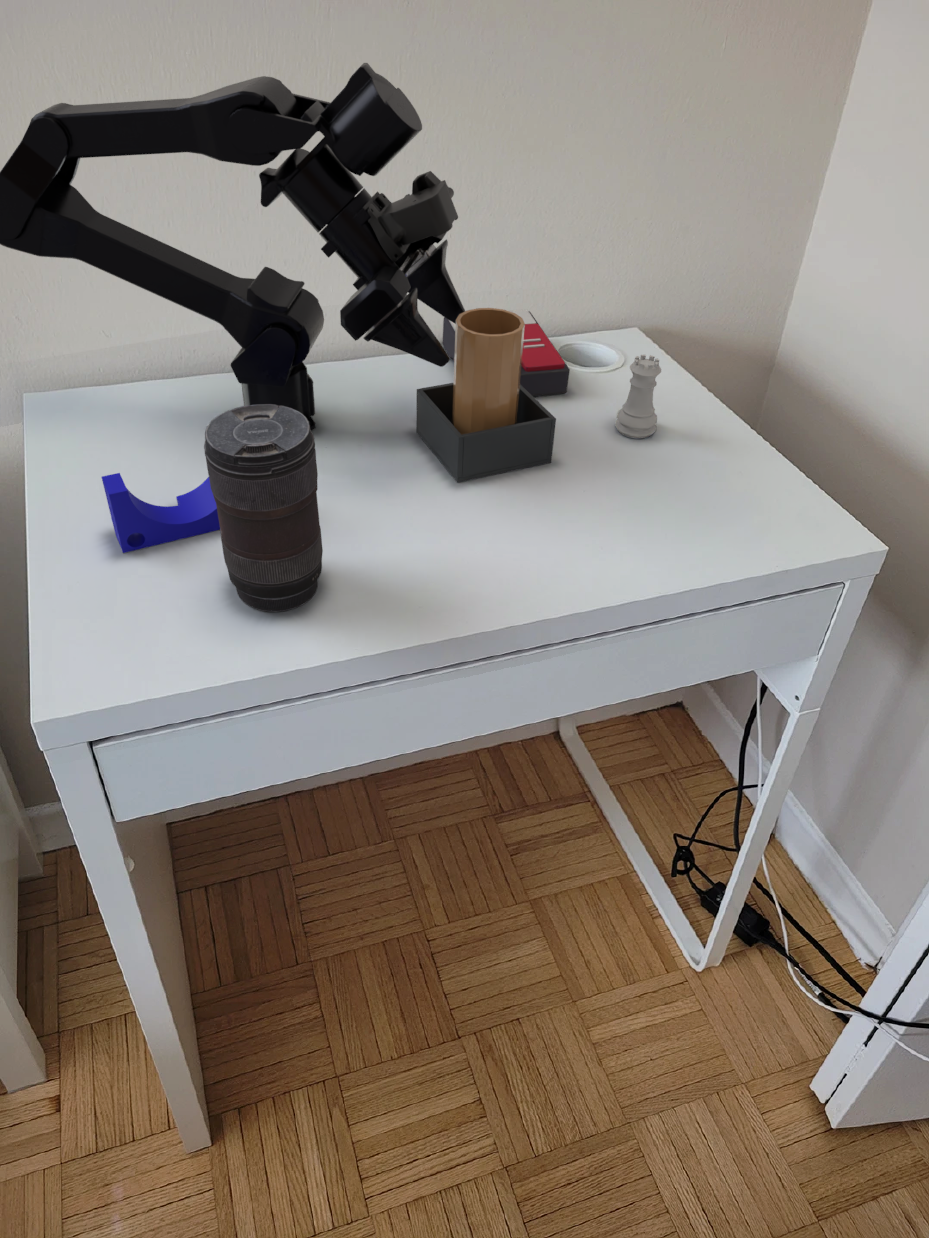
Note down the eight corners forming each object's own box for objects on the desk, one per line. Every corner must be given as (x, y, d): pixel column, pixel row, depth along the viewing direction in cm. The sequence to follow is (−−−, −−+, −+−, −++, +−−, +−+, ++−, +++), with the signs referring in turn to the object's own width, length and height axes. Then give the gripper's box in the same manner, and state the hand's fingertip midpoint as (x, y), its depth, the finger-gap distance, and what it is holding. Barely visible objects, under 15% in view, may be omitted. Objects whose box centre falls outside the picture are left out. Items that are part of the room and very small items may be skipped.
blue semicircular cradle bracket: (242, 495, 89) (234, 439, 86) (257, 520, 86) (250, 463, 83) (111, 525, 85) (97, 468, 81) (123, 553, 82) (108, 494, 78)
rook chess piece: (631, 415, 104) (643, 346, 99) (664, 430, 102) (677, 361, 97) (605, 428, 102) (616, 358, 97) (638, 444, 100) (651, 374, 94)
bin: (457, 483, 93) (458, 437, 89) (416, 432, 100) (416, 389, 97) (551, 462, 96) (556, 418, 93) (505, 415, 103) (508, 372, 100)
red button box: (476, 372, 103) (442, 310, 113) (474, 407, 106) (441, 343, 116) (572, 364, 105) (530, 303, 116) (567, 398, 108) (526, 336, 119)
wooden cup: (472, 465, 94) (479, 341, 86) (440, 436, 98) (443, 315, 90) (526, 449, 97) (537, 328, 89) (492, 422, 101) (500, 303, 93)
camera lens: (221, 566, 81) (195, 408, 71) (315, 552, 83) (303, 396, 73) (233, 626, 75) (207, 462, 66) (334, 609, 77) (323, 448, 68)
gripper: (373, 180, 74) (502, 333, 80) (427, 123, 88) (534, 257, 94) (284, 269, 80) (410, 405, 86) (348, 202, 94) (453, 323, 100)
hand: (456, 343), depth 91 cm, fingers open, 9 cm apart
